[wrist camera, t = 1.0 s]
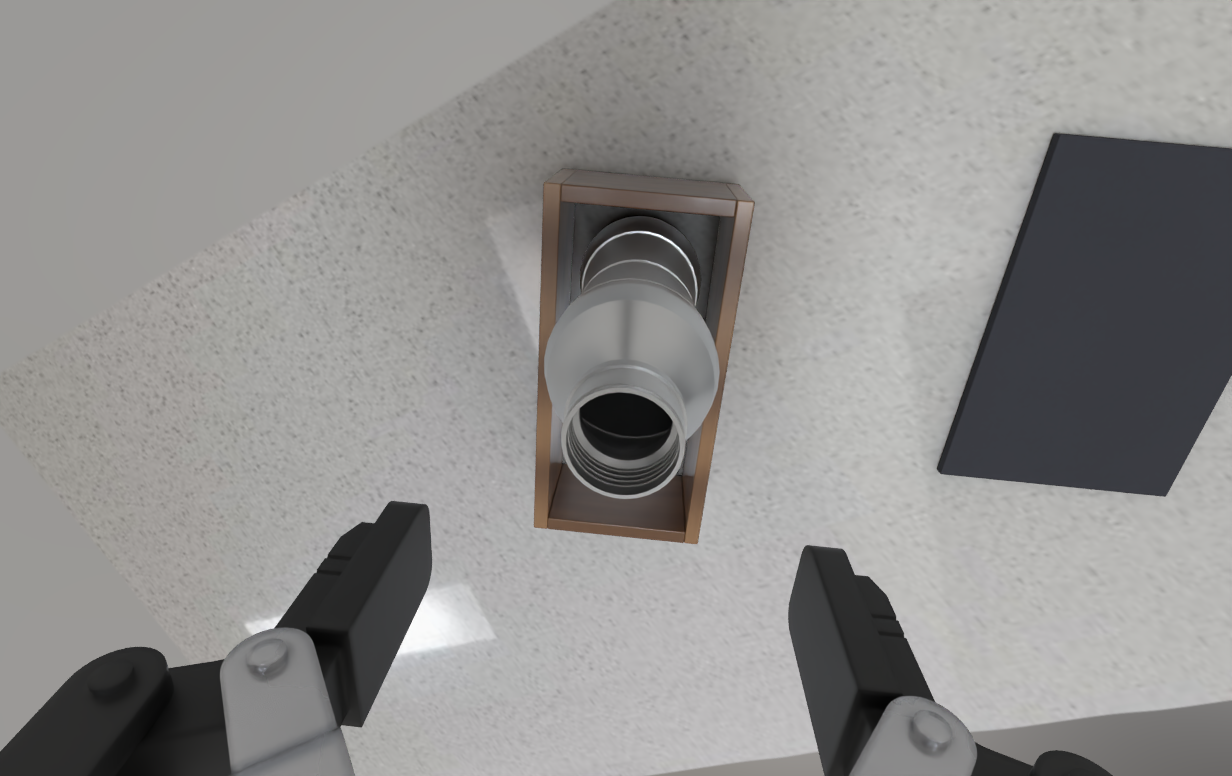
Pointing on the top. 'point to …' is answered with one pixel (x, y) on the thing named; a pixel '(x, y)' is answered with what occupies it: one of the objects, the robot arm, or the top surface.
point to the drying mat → (1105, 322)
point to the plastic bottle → (632, 360)
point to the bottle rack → (683, 497)
